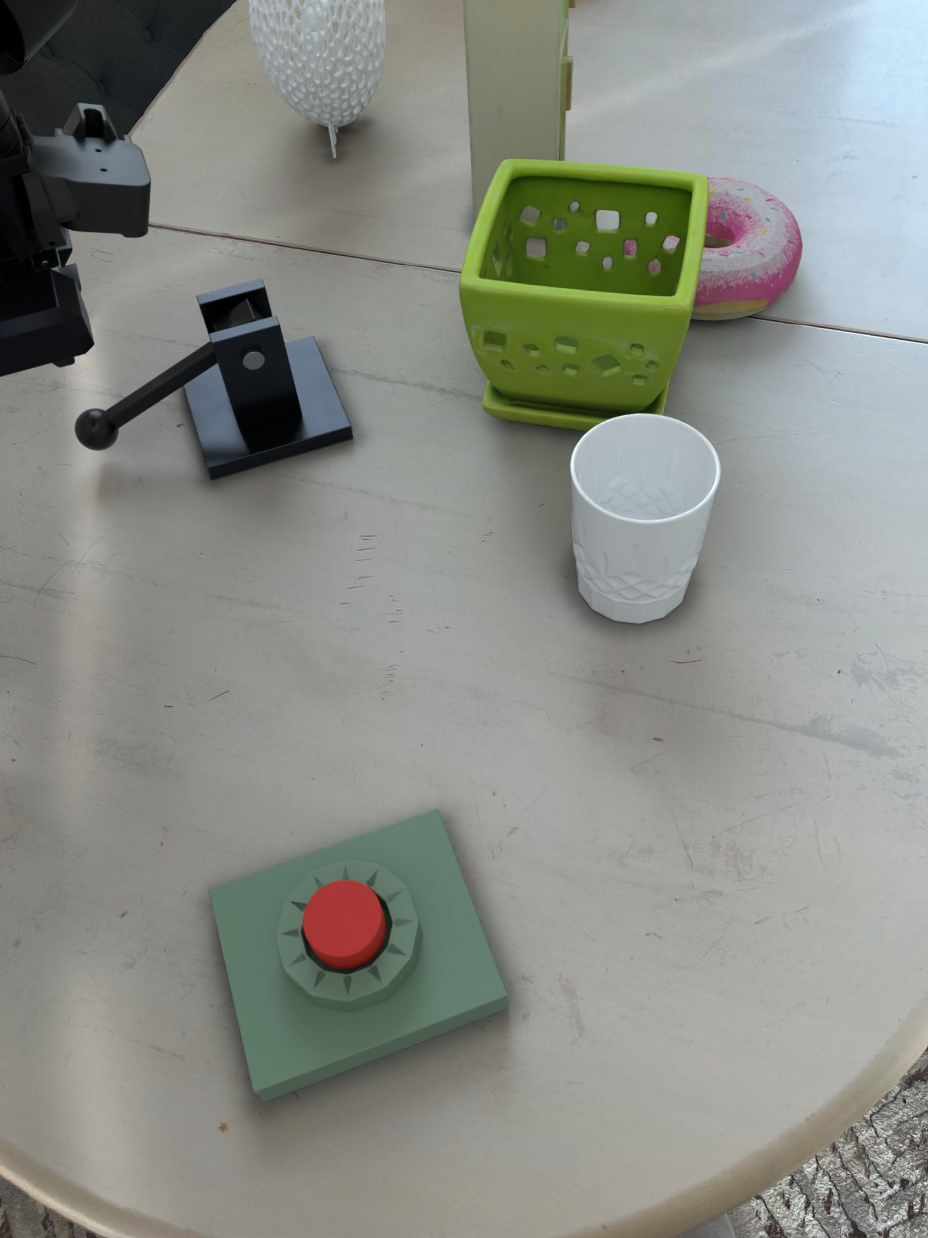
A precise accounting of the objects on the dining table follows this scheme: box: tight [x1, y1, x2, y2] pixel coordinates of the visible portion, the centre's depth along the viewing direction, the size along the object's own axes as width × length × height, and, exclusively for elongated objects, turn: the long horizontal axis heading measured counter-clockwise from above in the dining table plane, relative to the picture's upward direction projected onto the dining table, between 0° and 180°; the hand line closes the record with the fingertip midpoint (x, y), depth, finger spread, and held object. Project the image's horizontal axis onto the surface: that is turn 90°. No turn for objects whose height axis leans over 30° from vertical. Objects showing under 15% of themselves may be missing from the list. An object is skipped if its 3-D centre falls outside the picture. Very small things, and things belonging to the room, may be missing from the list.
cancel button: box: [303, 880, 386, 969], centre depth 48 cm, size 4×4×2 cm
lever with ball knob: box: [74, 299, 264, 452], centre depth 70 cm, size 15×3×3 cm, turn 109°
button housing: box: [208, 808, 509, 1103], centre depth 51 cm, size 12×10×4 cm
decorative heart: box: [248, 0, 387, 159], centre depth 88 cm, size 18×11×17 cm, turn 179°
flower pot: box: [458, 159, 709, 432], centre depth 69 cm, size 14×14×13 cm
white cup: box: [569, 414, 722, 625], centre depth 60 cm, size 8×8×10 cm
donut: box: [624, 176, 803, 321], centre depth 78 cm, size 14×13×5 cm
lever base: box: [182, 278, 354, 481], centre depth 71 cm, size 10×10×9 cm
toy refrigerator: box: [462, 0, 578, 230], centre depth 78 cm, size 8×7×21 cm
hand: (66, 362), depth 66 cm, fingers closed
